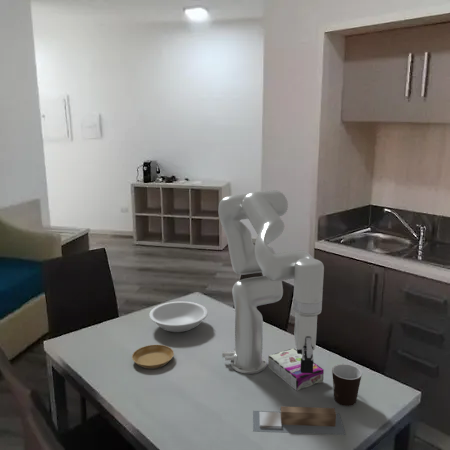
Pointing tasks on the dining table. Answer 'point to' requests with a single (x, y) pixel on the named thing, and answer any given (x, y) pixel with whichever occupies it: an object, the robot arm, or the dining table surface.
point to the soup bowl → (178, 315)
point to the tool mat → (300, 427)
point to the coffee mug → (346, 383)
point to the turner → (298, 417)
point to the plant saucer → (153, 356)
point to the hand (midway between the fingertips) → (304, 362)
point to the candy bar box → (294, 369)
